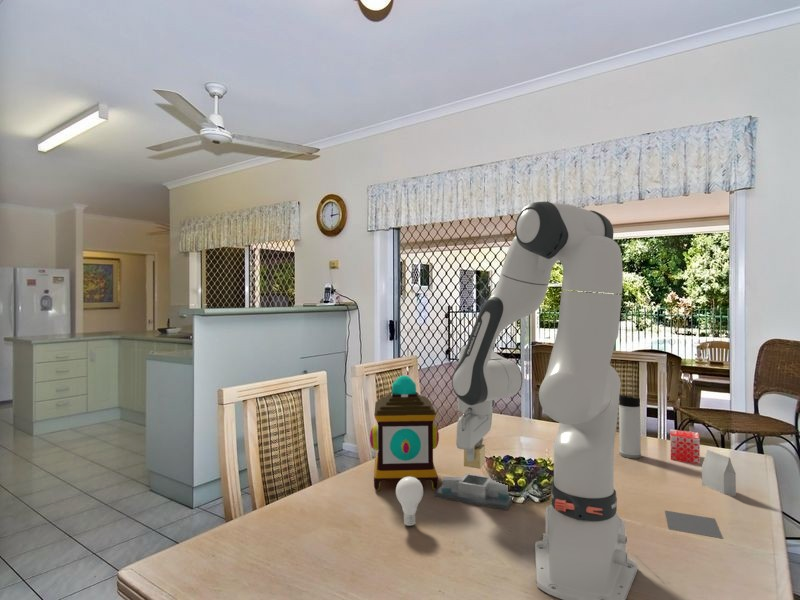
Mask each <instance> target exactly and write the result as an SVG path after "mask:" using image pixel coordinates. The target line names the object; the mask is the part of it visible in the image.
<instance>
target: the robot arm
mask: <svg viewBox="0 0 800 600" xmlns="http://www.w3.org/2000/svg"><path fill="white" fill-rule="evenodd" d="M516 217H517V218H516V220H515V225H514V234H515V236H514V237H513V239H512V240H511V243H510V245H509V248H508V250H507V252H506V255H505V258H504V261H503V264H502V268H501V271H500V276H499V279H498V282H497V284H496V286H495V288H494V290H493V292H492V293H491V295H490V296H489V297H488V299H487V300H486V301H484V303H483V304H482V306H481V308H480V311H479V312H478V315H477V317H476V320H475V322H474V325H473V327H472V331H471V333H470V336H469V338H468V341H467V344H465V345H463V346H462V347H461V349H460V351H459V355H458V364H457V365H456V366H455V369H454V371H453V373H452V378H451V387H452V390H453V392H454V394H455V395H456V397H457V411H458V412H459V413H461V414H462V415H461V416H459V417H458V419H457V426H456V441H455V444H456V447H457V449H460V450H463V451H464V450H466V452H467V460H468V461H474V460H475V453H474V448H475V445H476V444H477V443H478V442H480V444H483V442H484V437H485V436H486V435H487V434H488V433H489V432H490V431H491V427H492V424H493V422H492V421H493V408H494V407H495V400H496V401H498V400H500V399H507V398H511V397H513V396H517V394H519V392H520V391H521V389H522V386H523V374H522V371H521V368H520V367H519V365H518V364H517V362H515V361H513V360H511V359H507V358H505V357H503V356H502V355H500V354H498V353H497V352H496V351H494V347H495V344H496V342H497V339H498V337H499V335H500V334H501V333H502V332H503V330H505V329H506V328H507V327H509V326H510V325H511V324H513V323H516V322H517V321H519V320H521V319H524V318H527V317H528V316H530V315H532V314H533V313H535V312H536V311H537V310H539V309H540V308H541V306H542V304H543V301H544V300H545V298H546V294H547V291H548V288H549V287H548V286H549V283H550V279H551V275H552V270H553V268H554V265H555V264H556V263H557V262H558V261H559V262H560V264H561V266H562V272H563V273H562V282H561V293H560V304H559V314H558V316H559V317H558V325H557V329H556V330H557V331H556V334H555V338H554V342H553V346H552V350H551V353H550V358H549V361H548V365H547V369H546V373H545V376H544V379H543V380H542V382H541V384H540V386H539V391H538V399H539V403H540V407H541V408H542V410H543V412H544V413H545V414H546V415H547V416H548V417H549V418H550V419H552V420H553V421H555V422H557V423H559V425H558V430H557V433H556V437H555V440H554V442H553V481H552V482H551V490H550V495H551V503H550V505H548V506H547V507H545V533H544V532H543V533H542V534H541V539H542V540H538V541H535V543H534V556H535V557H534V558H535V560H534V561H535V573H536V575H535V576H536V586H537V588H539V590H541V591H543V592H544V593H546V594H548V595H550V596H553V597H555V598H557V599H561V600H626V599H627V597H628V595H629V593H630V590H631V588H632V585H633V584H634V580H635V577H636V576H637V572H638V570H639V569H638V564H637V563H636V561H634V560H633V559H631V558H629V557H628V552H627V541H628V539H627V535H626V524H625V521H624V520H623V519H622V518H621V517H620V516H619V515H618V513H617V511H618V509H617V507H618V506H617V505H618V498H617V491H616V489H615V485H614V483H615V482H614V481H615V480H614V479H615V478H614V477H615V475H614V471H615V470H614V469H615V468H614V461H615V460H614V455H615V453H614V452H615V450H614V449H615V441H616V440H615V439H616V434H617V426H618V419H619V395H621V394H620V393H621V385H622V384H621V378H620V375H619V374H618V372H617V370H616V369H615V368H614V367H613V366H612V365H611V360H612V356H613V352H614V349H615V345H616V342H617V339H618V337H619V331H620V330H619V329H620V319H621V309H622V298H623V295H622V294H623V287H624V286H623V283H624V278H623V277H624V274H623V273H624V271H623V269H624V268H623V257H622V250H621V247H620V245H619V244H618V243H617V241H615V240H614V227H613V224H612V222H611V221H610V219H609V218H607V217H606V216H605V215H603V214H602V213H599V212H598V211H595V210H592V209H589V210H588V209H585V208H582V207H580V206H579V207H577V206H576V205H573V204H568V203H561V202H560V203H557V202H554V203H553V202H550V201H537V202H531V203H528V204H527V205H525V206H524V207H523V208H522V209H521V211H520V212H519V213H518V215H517V216H516Z"/></svg>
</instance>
